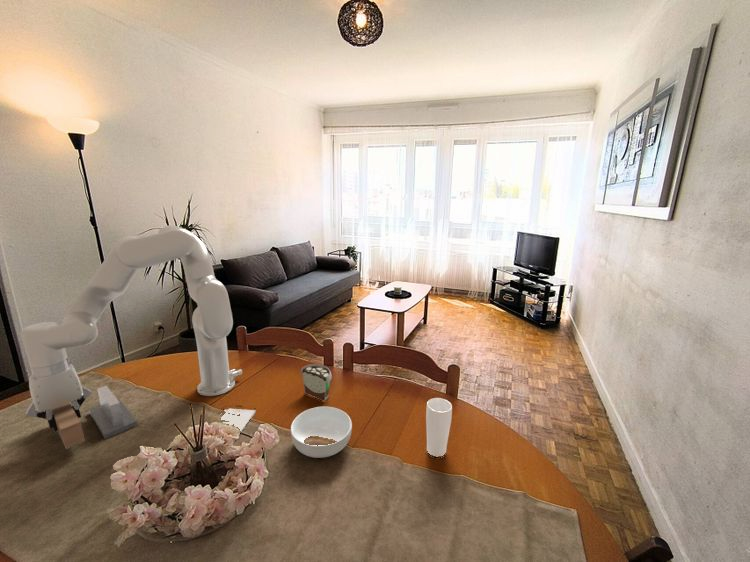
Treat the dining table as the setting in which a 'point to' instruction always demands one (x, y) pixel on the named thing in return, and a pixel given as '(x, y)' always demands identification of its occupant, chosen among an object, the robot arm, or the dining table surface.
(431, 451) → the drinking glass
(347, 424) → the cereal bowl
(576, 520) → the dining table surface
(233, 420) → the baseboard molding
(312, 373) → the food container
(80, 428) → the walnut bar
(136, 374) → the dining table surface
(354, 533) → the dining table surface
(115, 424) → the balance stand
